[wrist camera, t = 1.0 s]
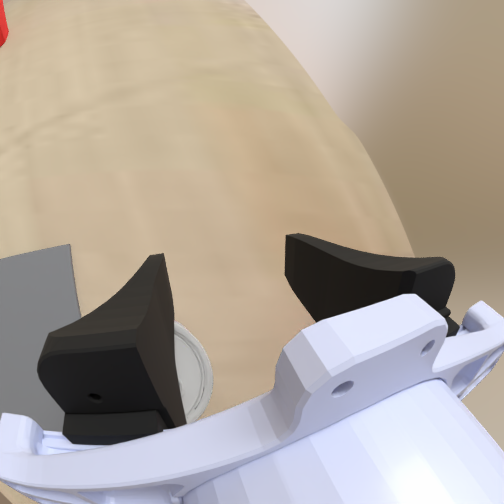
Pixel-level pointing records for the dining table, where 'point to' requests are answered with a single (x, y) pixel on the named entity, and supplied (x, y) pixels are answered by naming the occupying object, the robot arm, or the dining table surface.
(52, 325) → the mat
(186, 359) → the beverage can
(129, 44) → the dining table surface
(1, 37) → the french fries
